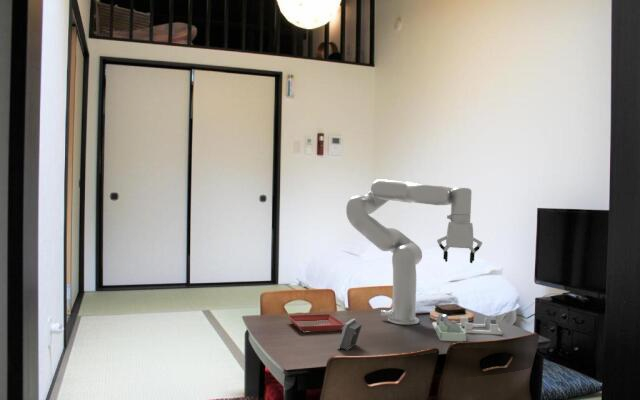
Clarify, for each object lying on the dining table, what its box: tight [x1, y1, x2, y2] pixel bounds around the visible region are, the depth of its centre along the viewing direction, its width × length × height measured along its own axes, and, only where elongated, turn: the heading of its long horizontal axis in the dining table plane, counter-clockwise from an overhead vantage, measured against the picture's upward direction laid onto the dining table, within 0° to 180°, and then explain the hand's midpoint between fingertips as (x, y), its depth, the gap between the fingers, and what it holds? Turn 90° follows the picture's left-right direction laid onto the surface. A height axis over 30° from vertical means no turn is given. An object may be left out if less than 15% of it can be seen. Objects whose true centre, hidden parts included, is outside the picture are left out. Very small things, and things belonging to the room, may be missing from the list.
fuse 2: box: [486, 315, 497, 331], centre depth 210 cm, size 2×7×5 cm, turn 175°
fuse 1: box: [437, 313, 444, 325], centre depth 212 cm, size 2×7×5 cm, turn 175°
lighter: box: [441, 313, 459, 333], centre depth 199 cm, size 7×2×8 cm, turn 114°
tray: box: [435, 325, 467, 342], centre depth 199 cm, size 9×11×3 cm
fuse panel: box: [431, 315, 503, 335], centre depth 211 cm, size 25×11×4 cm, turn 85°
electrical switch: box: [336, 318, 363, 351], centre depth 182 cm, size 9×5×9 cm, turn 158°
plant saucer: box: [287, 313, 345, 332], centre depth 208 cm, size 18×18×3 cm
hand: (458, 262), depth 212 cm, fingers open, 9 cm apart
